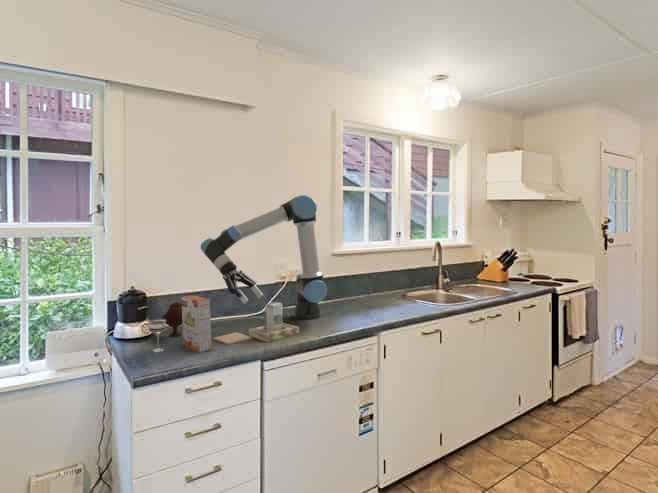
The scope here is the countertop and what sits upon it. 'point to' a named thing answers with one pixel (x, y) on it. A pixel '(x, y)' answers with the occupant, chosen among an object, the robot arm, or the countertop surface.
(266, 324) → the syrup box
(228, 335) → the terracotta tile
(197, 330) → the cracker box
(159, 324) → the wineglass
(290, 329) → the well board
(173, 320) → the ice cream bowl
